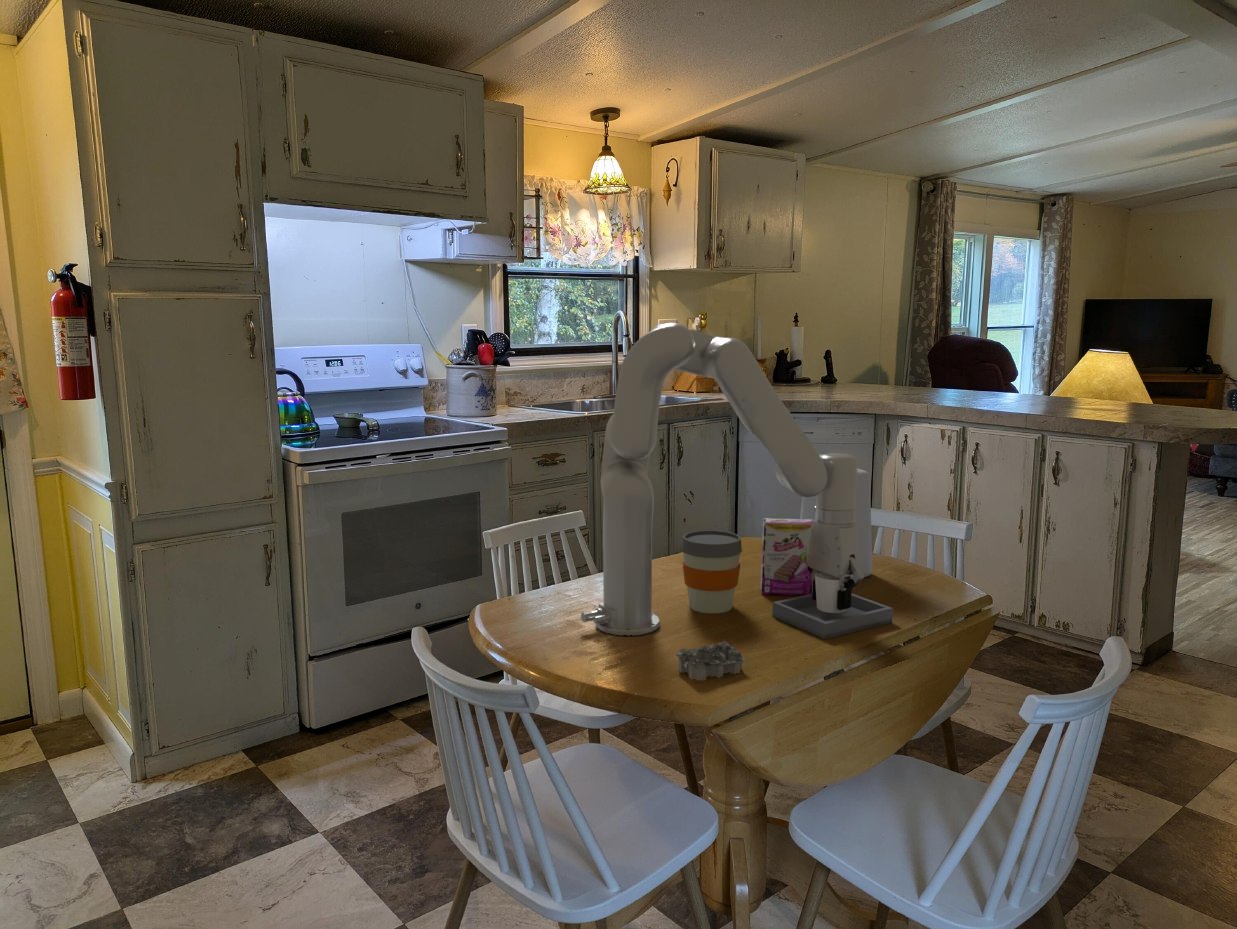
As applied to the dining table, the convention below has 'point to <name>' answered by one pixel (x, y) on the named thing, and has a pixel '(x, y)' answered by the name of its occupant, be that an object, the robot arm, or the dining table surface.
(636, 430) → the robot arm
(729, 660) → the egg carton
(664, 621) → the dining table surface
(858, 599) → the tray
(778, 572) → the candy bar box
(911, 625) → the dining table surface
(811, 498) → the plastic bottle
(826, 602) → the white cup
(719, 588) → the reusable coffee cup
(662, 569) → the dining table surface
